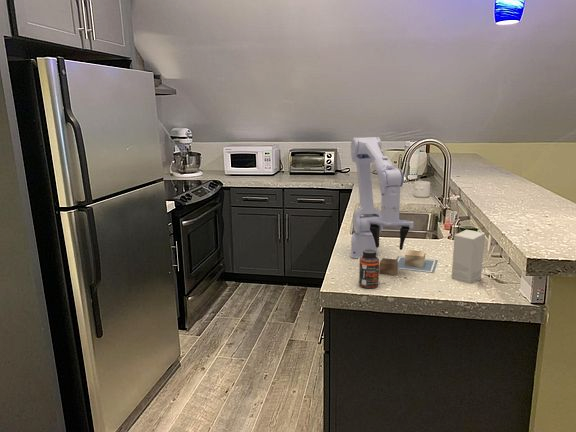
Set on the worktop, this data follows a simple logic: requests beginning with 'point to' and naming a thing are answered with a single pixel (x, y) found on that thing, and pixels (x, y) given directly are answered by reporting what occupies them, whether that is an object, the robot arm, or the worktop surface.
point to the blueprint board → (427, 267)
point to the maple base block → (415, 258)
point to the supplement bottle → (369, 269)
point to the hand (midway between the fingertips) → (389, 247)
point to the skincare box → (468, 256)
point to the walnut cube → (388, 266)
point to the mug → (421, 189)
